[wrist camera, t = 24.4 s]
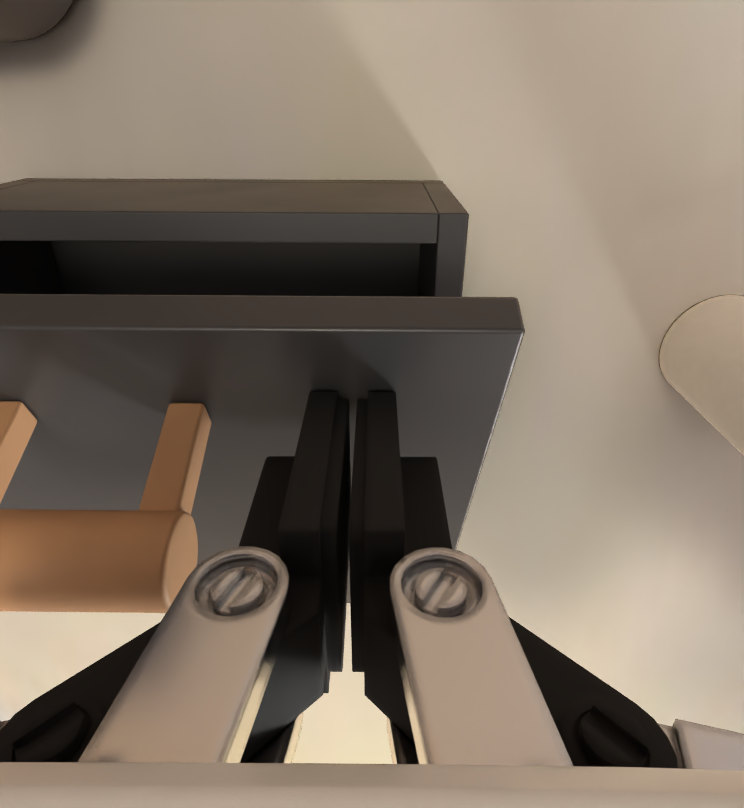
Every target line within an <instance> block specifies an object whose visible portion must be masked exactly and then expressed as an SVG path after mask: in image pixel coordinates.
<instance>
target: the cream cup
mask: <svg viewBox="0 0 744 808" xmlns="http://www.w3.org/2000/svg"><path fill="white" fill-rule="evenodd" d="M659 362H660V368H661V371H662V374H663V376H664V378H665V379H666V380H667V382H668V383H669V384H670V385H671V386H672V387H673V388H674V389H675V390H677V391H678V392H679V393H680V394H681V395H682V396H683V397H684V398H685V399H686V400H687V401H688V402H689V403H690V404H691V405H692V406H693V407H694V408H695V409H696V410H697V411H698V412H699V413H700V414H701V415H702V416H703V417H704V418H705V419H706V420H707V421H708V422H709V423H710V424H711V425H713V426H714V427H715V428H716V429H717V430H718V431H719V432H720V433H721V434H722V435H723V436H724V437H725V438H726V439H727V440H728V441H729V442H730V443H731V444H732V445H733V446H734V447H735V448H736V449H737V450H738V451H739V452H740V453H741V454H742V455H743V456H744V296H739V295H724V296H718V297H713V298H710V299H707V300H705V301H703V302H700V303H698V304H697V305H695V306H693V307H691V308H690V309H689V310H687V311H686V312H685V313H683V314H682V315H681V316H680V317H679V318H678V319H677V320H676V321H675V322H674V323H673V325H672V326H671V327H670V329H669V330H668V332H667V334H666V335H665V337H664V340H663V342H662V345H661V348H660V355H659Z"/></svg>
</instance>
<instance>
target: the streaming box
mask: <svg viewBox="0 0 744 808" xmlns="http://www.w3.org/2000/svg"><path fill="white" fill-rule="evenodd" d="M72 1H73V0H0V42H8V41H20V40H26V39H31V38H33V37H36V36H39V35H41V34H43V33H45V32H46V31H48V30H49V29H51V28H52V27H54V26H55V25H56V24H57V23H58V22H59V21H60V20H61V18H62V17H63V16H64V15H65V13H66V12H67V10H68V8H69V7H70V5H71V3H72Z"/></svg>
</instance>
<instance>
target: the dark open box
mask: <svg viewBox="0 0 744 808" xmlns="http://www.w3.org/2000/svg"><path fill="white" fill-rule="evenodd" d="M468 218H469V214H468V213H467V211H466V210H465V209H464V208H463V206H462V205H461V204H460V203H459V201H458V200H457V199H456V198H455V196H454V195H453V194H452V192H451V191H450V190H449V189H448V187H447V186H446V185H445V184H444V183H443V182H442V181H407V180H222V179H36V178H26V179H21V180H17V181H12V182H7V183H3V184H0V294H90V295H241V296H392V297H462V289H463V277H464V265H465V254H466V242H467V230H468Z"/></svg>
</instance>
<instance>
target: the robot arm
mask: <svg viewBox="0 0 744 808" xmlns="http://www.w3.org/2000/svg"><path fill="white" fill-rule="evenodd" d="M349 565H350V601H351V637H352V671H353V672H364V676H365V696H366V697H367V698H368V699H369V700H371V701H372V702H373V703H374V704H375V705H376V706H377V707H378V708H379V709H380V710H381V711H382V712H383V713H384V714H385V715H386V716H387V732H388V738H389V744H390V750H391V756H392V762H393V764H316V763H292V762H293V759H294V755H295V751H296V748H297V744H298V740H299V737H300V733H301V729H302V721H303V711H305V710H306V709H307V708H308V707H309V706H310V705H311V704H313V703H314V702H315V701H316V700H317V699H318V698H320V697H321V696H322V695H323V693H328V692H329V680H330V672H342V668H343V653H344V637H345V620H346V603H347V587H348V570H349ZM0 808H744V734H741V733H737V732H733V731H728V730H724V729H719V728H715V727H710V726H706V725H701V724H697V723H692V722H688V721H683V720H679V719H675V722H674V724H673V726H672V727H671V726H667V725H662V724H658V723H657V722H656V721H655V720H654V719H653V718H652V717H651V716H650V715H649V714H648V713H646V712H645V711H644V710H643V709H642V708H640V707H639V706H638V705H637V704H636V703H634V702H633V701H631V700H630V699H628V698H627V697H625V696H624V695H622V694H621V693H619V692H618V691H617V690H615V689H614V688H612V687H611V686H609V685H608V684H606V683H605V682H603V681H602V680H600V679H599V678H598V677H596V676H595V675H593V674H592V673H590V672H589V671H587V670H586V669H584V668H583V667H581V666H580V665H579V664H577V663H576V662H574V661H573V660H571V659H570V658H568V657H567V656H565V655H564V654H562V653H561V652H559V651H558V650H557V649H555V648H554V647H552V646H551V645H549V644H548V643H546V642H545V641H543V640H542V639H540V638H539V637H538V636H536V635H535V634H533V633H532V632H530V631H529V630H527V629H526V628H524V627H523V626H521V625H520V624H519V623H517V622H516V621H514V620H513V619H511V618H510V617H508V615H507V613H506V610H505V608H504V606H503V603H502V601H501V599H500V597H499V594H498V592H497V590H496V587H495V585H494V583H493V581H492V578H491V577H490V575H489V574H488V572H487V571H486V569H485V568H484V566H482V565H481V564H480V563H479V562H478V561H476V560H475V559H474V558H473V557H471V556H469V555H467V554H464V553H462V552H460V551H457V550H453V549H452V545H451V539H450V533H449V527H448V521H447V515H446V509H445V503H444V497H443V491H442V485H441V479H440V473H439V467H438V462H437V458H436V457H400V448H399V432H398V417H397V402H396V392H368V399H357V411H356V426H355V441H354V456H353V472H352V487H351V465H350V423H349V399H339V396H338V392H310V393H309V396H308V401H307V405H306V409H305V414H304V418H303V422H302V427H301V431H300V436H299V440H298V444H297V449H296V453H295V456H268V457H267V458H266V460H265V463H264V466H263V469H262V472H261V475H260V479H259V482H258V485H257V488H256V492H255V495H254V498H253V501H252V505H251V508H250V511H249V514H248V518H247V521H246V524H245V527H244V531H243V534H242V537H241V540H240V543H239V547H235V548H230V549H225V550H222V551H220V552H218V553H216V554H213V555H211V556H209V557H208V558H206V559H205V560H204V561H202V562H201V563H200V564H198V565H197V566H196V567H195V568H194V570H193V571H192V572H191V573H190V575H189V576H188V577H187V579H186V580H185V582H184V584H183V586H182V587H181V589H180V591H179V592H178V594H177V596H176V597H175V599H174V601H173V602H172V604H171V606H170V607H169V609H168V611H167V612H166V614H165V616H164V617H163V619H162V621H161V622H160V623H158V624H157V625H155V626H154V627H152V628H150V629H149V630H147V631H145V632H144V633H142V634H141V635H139V636H137V637H136V638H134V639H132V640H131V641H129V642H128V643H126V644H124V645H123V646H121V647H119V648H118V649H116V650H115V651H113V652H111V653H110V654H108V655H106V656H105V657H103V658H102V659H100V660H98V661H97V662H95V663H93V664H92V665H90V666H89V667H87V668H85V669H84V670H82V671H80V672H79V673H77V674H76V675H74V676H72V677H71V678H69V679H67V680H66V681H64V682H63V683H61V684H59V685H58V686H56V687H54V688H53V689H51V690H50V691H48V692H46V693H45V694H43V695H41V696H40V697H38V698H36V699H35V700H33V701H32V702H31V703H29V704H28V705H27V706H25V707H24V708H23V709H21V710H20V711H19V712H17V713H16V714H15V715H14V716H13V717H12V718H11V719H10V720H8V721H3V722H1V721H0Z"/></svg>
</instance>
